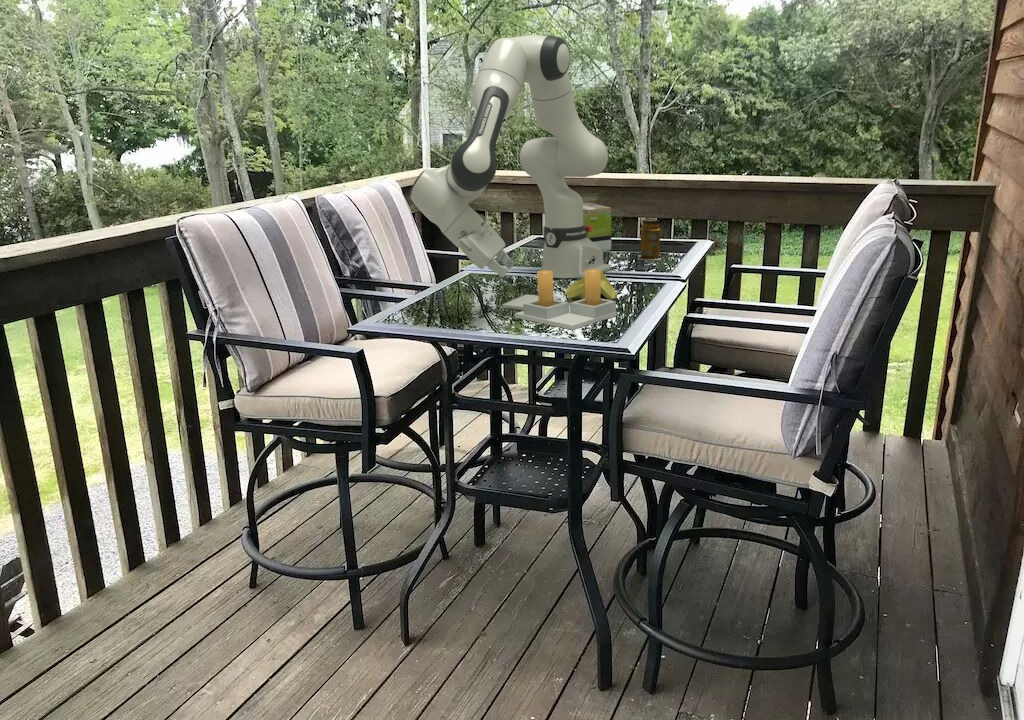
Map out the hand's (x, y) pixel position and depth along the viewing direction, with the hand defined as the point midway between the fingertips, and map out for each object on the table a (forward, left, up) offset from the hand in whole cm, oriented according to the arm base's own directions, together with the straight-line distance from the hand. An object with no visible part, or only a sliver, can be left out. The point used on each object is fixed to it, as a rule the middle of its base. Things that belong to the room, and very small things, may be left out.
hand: (508, 270), depth 191 cm
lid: (-13, -5, -11) cm, 17 cm away
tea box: (-83, -45, -11) cm, 95 cm away
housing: (-9, +10, -11) cm, 17 cm away
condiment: (-81, -18, -11) cm, 83 cm away
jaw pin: (-5, +7, -10) cm, 13 cm away
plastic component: (-24, +4, -12) cm, 27 cm away
